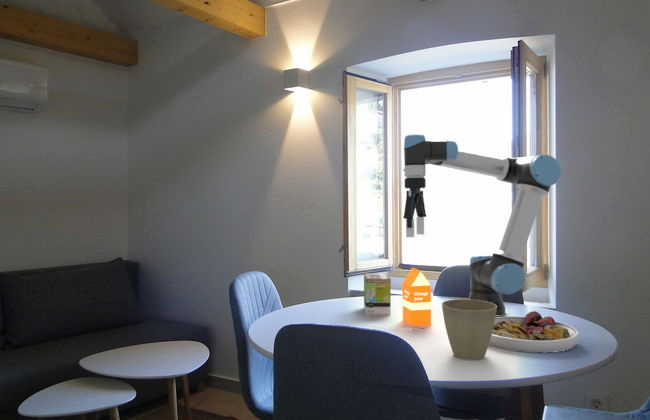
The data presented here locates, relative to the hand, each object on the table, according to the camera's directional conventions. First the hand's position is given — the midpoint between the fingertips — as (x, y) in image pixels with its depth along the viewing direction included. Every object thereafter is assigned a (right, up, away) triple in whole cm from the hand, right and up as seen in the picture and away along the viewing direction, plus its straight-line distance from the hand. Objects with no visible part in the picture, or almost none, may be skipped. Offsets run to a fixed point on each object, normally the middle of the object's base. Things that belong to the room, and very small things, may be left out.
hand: (415, 235), depth 187 cm
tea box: (-12, -32, +21) cm, 40 cm away
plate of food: (+30, -33, -25) cm, 51 cm away
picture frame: (-13, -33, -12) cm, 37 cm away
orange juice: (+1, -32, +1) cm, 32 cm away
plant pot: (+8, -33, -42) cm, 54 cm away
